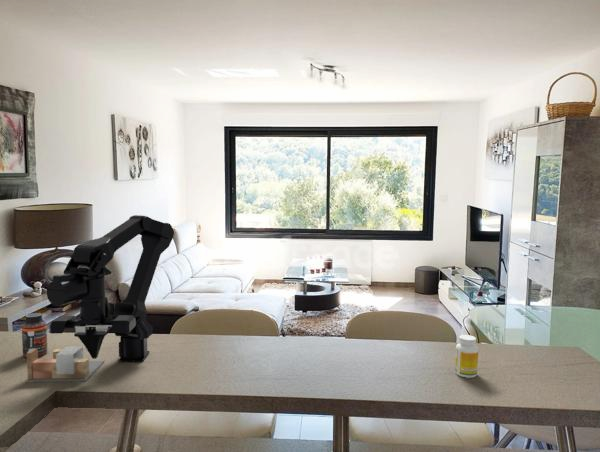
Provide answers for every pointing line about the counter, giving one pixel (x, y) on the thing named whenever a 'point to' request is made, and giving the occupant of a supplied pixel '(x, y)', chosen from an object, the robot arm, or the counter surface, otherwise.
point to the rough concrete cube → (68, 359)
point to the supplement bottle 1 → (34, 334)
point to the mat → (92, 368)
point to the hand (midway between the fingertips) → (94, 358)
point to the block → (53, 367)
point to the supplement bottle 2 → (466, 357)
